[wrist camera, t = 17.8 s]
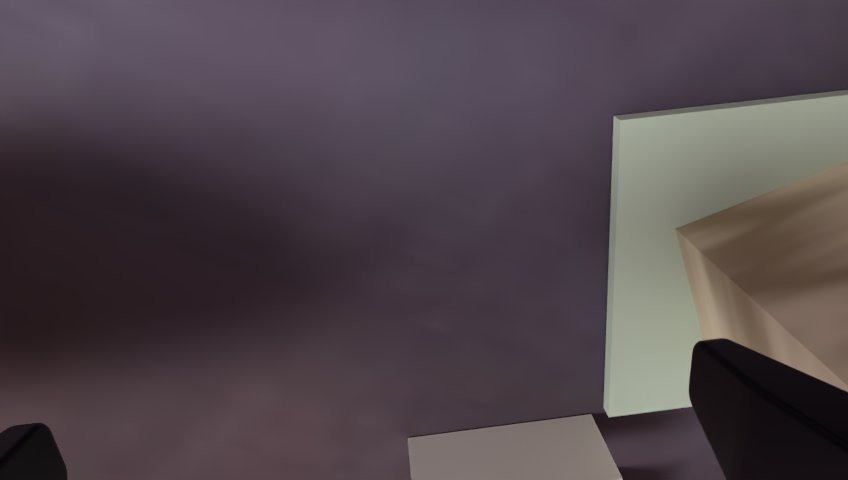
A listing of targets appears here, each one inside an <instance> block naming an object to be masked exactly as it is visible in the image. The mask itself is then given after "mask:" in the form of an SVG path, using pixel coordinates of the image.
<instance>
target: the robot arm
mask: <svg viewBox="0 0 848 480" xmlns="http://www.w3.org/2000/svg"><path fill="white" fill-rule="evenodd" d="M689 397H690V401H691V405H692V407H693V409H694V411H695V414H696V416H697V418H698V420H699V422H700V425H701V427H702V429H703V431H704V433H705V435H706V438H707V440H708V442H709V444H710V446H711V449H712V451H713V453H714V455H715V457H716V460H717V462H718V464H719V466H720V468H721V470H722V473H723V475H724V477H725V479H726V480H848V392H847V391H845V390H842V389H840V388H838V387H836V386H833V385H831V384H829V383H826V382H824V381H822V380H820V379H817V378H815V377H813V376H811V375H808V374H806V373H804V372H802V371H799V370H797V369H795V368H793V367H790V366H788V365H786V364H784V363H781V362H779V361H777V360H774V359H772V358H770V357H768V356H765V355H763V354H761V353H759V352H756V351H754V350H752V349H750V348H747V347H745V346H743V345H741V344H738V343H736V342H734V341H731V340H729V339H726V338H718V339H710V340H702V341H698V342H697V343H696V344H695V345H694V347H693V351H692V360H691V370H690V379H689ZM0 480H67V469H66V466H65V463H64V461H63V459H62V456H61V454H60V452H59V449H58V447H57V444H56V442H55V440H54V437H53V435H52V433H51V431H50V429H49V428H48V427H47V426H46V425H45V424H43V423H32V424H24V425H16V426H12V427H9V428H8V429H6V430H5V431H3V432H1V433H0Z"/></svg>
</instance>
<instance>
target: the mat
mask: <svg viewBox="0 0 848 480" xmlns="http://www.w3.org/2000/svg"><path fill="white" fill-rule="evenodd" d="M844 162H846V163H848V90H840V91H831V92H823V93H814V94H805V95H796V96H787V97H778V98H769V99H760V100H751V101H742V102H733V103H724V104H715V105H706V106H697V107H688V108H679V109H670V110H661V111H652V112H643V113H634V114H625V115H616V116H614V122H613V151H612V179H611V208H610V236H609V265H608V293H607V322H606V350H605V379H604V407H603V408H604V410H605V411H606V413H607V415H608V417H616V416H623V415H631V414H639V413H646V412H654V411H662V410H669V409H677V408H685V407H692V405H691V401H690V397H689V379H690V370H691V360H692V351H693V347H694V345H695V344H696V343H697V342H698V341H702V340H703V336H702V332H701V328H700V325H699V321H698V317H697V313H696V309H695V305H694V301H693V297H692V293H691V289H690V285H689V281H688V277H687V273H686V269H685V265H684V261H683V257H682V253H681V249H680V245H679V241H678V237H677V233H676V228H678V227H681V226H683V225H686V224H688V223H691V222H694V221H696V220H699V219H701V218H704V217H706V216H709V215H711V214H714V213H716V212H719V211H722V210H724V209H727V208H729V207H732V206H734V205H737V204H739V203H742V202H745V201H747V200H750V199H752V198H755V197H757V196H760V195H762V194H765V193H768V192H770V191H773V190H775V189H778V188H780V187H783V186H785V185H788V184H790V183H793V182H796V181H798V180H801V179H803V178H806V177H808V176H811V175H813V174H816V173H819V172H821V171H824V170H826V169H829V168H831V167H834V166H836V165H839V164H842V163H844Z"/></svg>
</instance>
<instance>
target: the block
mask: <svg viewBox="0 0 848 480" xmlns="http://www.w3.org/2000/svg"><path fill="white" fill-rule="evenodd" d="M676 233H677V237H678V241H679V245H680V249H681V253H682V257H683V261H684V265H685V269H686V273H687V277H688V281H689V285H690V289H691V293H692V297H693V301H694V305H695V309H696V313H697V317H698V321H699V325H700V328H701V332H702V336H703V340H710V339H718V338H726V339H729V340H731V341H734V342H736V343H738V344H741V345H743V346H745V347H747V348H750V349H752V350H754V351H756V352H759V353H761V354H763V355H765V356H768V357H770V358H772V359H774V360H777V361H779V362H781V363H784V364H786V365H788V366H790V367H793V368H795V369H797V370H799V371H802V372H804V373H806V374H808V375H811V376H813V377H815V378H817V379H820V380H822V381H824V382H826V383H829V384H831V385H833V386H836V387H838V388H840V389H842V390H845V391H847V392H848V163H846V162H844V163H842V164H839V165H836V166H834V167H831V168H829V169H826V170H824V171H821V172H819V173H816V174H813V175H811V176H808V177H806V178H803V179H801V180H798V181H796V182H793V183H790V184H788V185H785V186H783V187H780V188H778V189H775V190H773V191H770V192H768V193H765V194H762V195H760V196H757V197H755V198H752V199H750V200H747V201H745V202H742V203H739V204H737V205H734V206H732V207H729V208H727V209H724V210H722V211H719V212H716V213H714V214H711V215H709V216H706V217H704V218H701V219H699V220H696V221H694V222H691V223H688V224H686V225H683V226H681V227H678V228H676Z"/></svg>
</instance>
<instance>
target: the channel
mask: <svg viewBox="0 0 848 480" xmlns="http://www.w3.org/2000/svg"><path fill="white" fill-rule="evenodd" d="M408 449H409V460H410V471H411V480H623V478H622V476H621V474H620V472H619V470H618V468H617V466H616V464H615V462H614V460H613V458H612V456H611V454H610V452H609V450H608V448H607V446H606V443H605V441H604V439H603V437H602V435H601V433H600V431H599V429H598V427H597V425H596V423H595V421H594V419H593V417H592V415H591V414H588V415H580V416H573V417H565V418H557V419H550V420H542V421H534V422H527V423H519V424H511V425H504V426H496V427H488V428H481V429H473V430H465V431H458V432H450V433H442V434H435V435H427V436H419V437H412V438H408Z"/></svg>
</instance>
